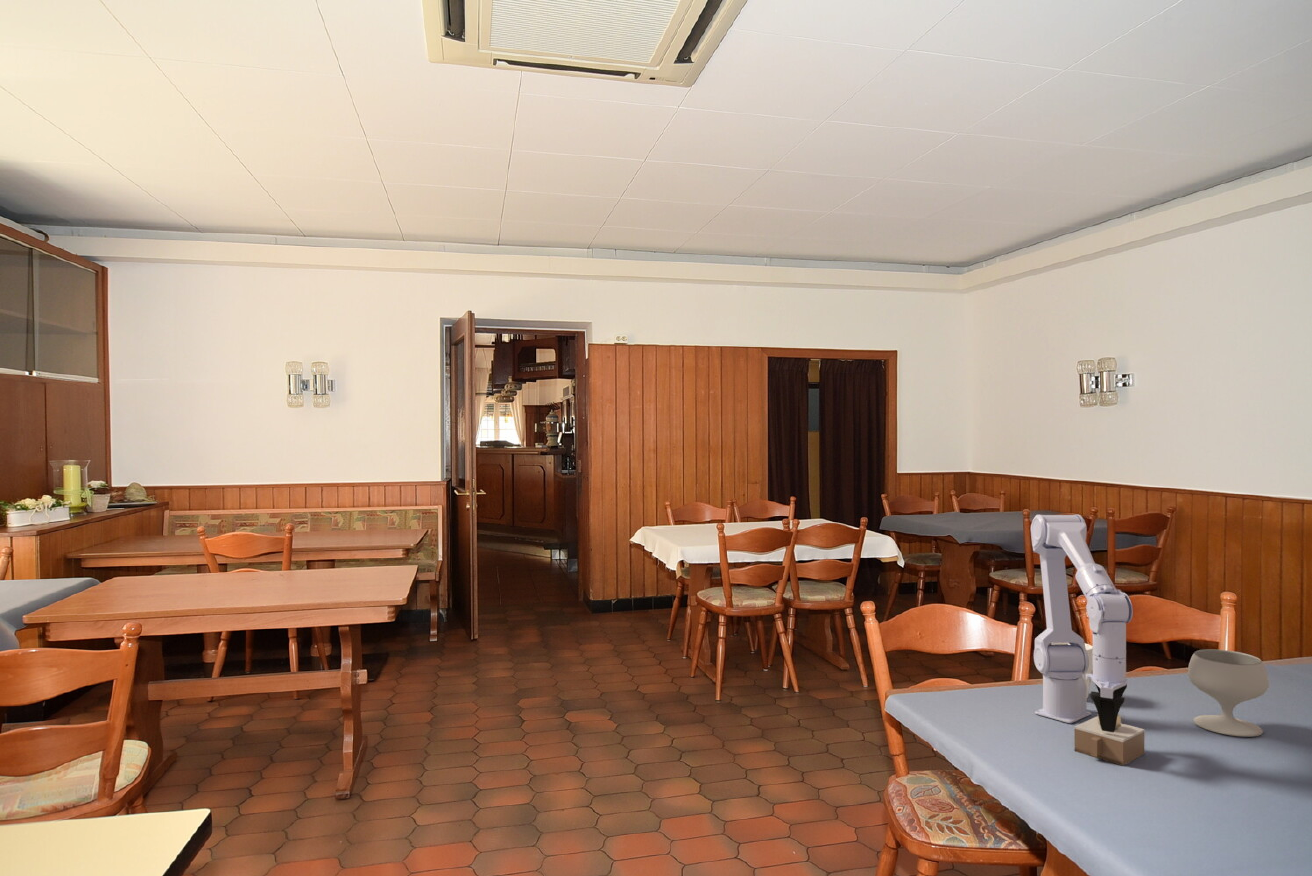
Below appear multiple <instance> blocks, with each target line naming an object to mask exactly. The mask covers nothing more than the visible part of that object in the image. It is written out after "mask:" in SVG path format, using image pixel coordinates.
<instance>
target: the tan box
mask: <svg viewBox="0 0 1312 876" xmlns="http://www.w3.org/2000/svg"><path fill="white" fill-rule="evenodd" d="M1074 751H1075V752H1078V753H1080V754H1083V755H1087V756H1090V757H1094V758H1096V759H1099V760H1103V761H1106V762H1108V763H1113V764H1117V765H1119V766H1125V765H1127V764H1129V763H1131V762H1133V761H1135V760H1136V759H1138V758H1140V757H1141V756H1140V755H1142V756H1144V755H1145V729H1144V728H1140V727H1137V726H1133V725H1129V724H1125V723H1122V722H1121V727H1119V728H1115V731H1114V732H1108V731H1102V729H1101V726H1100V725H1099V724H1098V716H1094V717H1092V718H1091V719H1088V720H1086V721H1083V722H1081V723H1080V724H1077V725H1075V726H1074ZM1139 756H1140V757H1139ZM1137 757H1138V758H1137ZM1128 762H1129V763H1128ZM1126 763H1127V764H1126Z"/></svg>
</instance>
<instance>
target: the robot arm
mask: <svg viewBox="0 0 1312 876" xmlns="http://www.w3.org/2000/svg"><path fill="white" fill-rule="evenodd" d="M1087 530H1088V529H1087V524H1086V520H1085V519H1084V518H1083V516H1082V515H1080V514H1036V515H1035V516H1034V518H1033V519H1032V521H1031V524H1030V536H1031V537H1030V538H1031V546H1032V551H1033V552H1034V553H1036V554H1038V555H1039V561H1040V572H1041V582H1042V590H1043V592H1042V593H1043V601H1044V602H1043V603H1044V610H1045V611H1044V613H1045V623H1046V629H1044V630H1043V631H1042V632H1041V633H1040V634H1038V636H1036V637H1035V638H1034V650H1033V662H1034V665H1035V667H1036V669H1037V671H1038V672H1040V673H1041V674H1042V708H1039V709H1038V710H1035V711H1034V714H1035V715H1037V716H1038V715H1039V716H1041V717H1045V718H1049V719H1052V720H1057V721H1058V722H1059V721H1060V722H1062V723H1063V722H1064V723H1067V724H1072V723H1075V722H1077V721H1079V720H1082V719H1083V718H1086V717H1088V716H1091V715H1092V712H1091V711H1088V708H1087V706H1088V705H1087V703H1088V702H1087V700H1088V698H1087V686H1086V682H1085V680H1084V678H1083V674H1084V673H1086V671H1087V669H1088V667H1089V656H1088V653H1087V651H1086V647H1085V643H1086V642H1085V639H1084V638H1083V637H1082V636H1080V635H1079V634H1078V633H1076V632H1075V631H1074V630H1072V620H1071V612H1070V601H1069V600H1070V599H1069V592H1068V582H1067V572H1066V571H1067V570H1066V562H1065V561H1066V560H1065V559H1066V557H1068V558H1069V560H1070V561H1071V563H1072V564H1073V566H1074V567H1075V569H1076V570H1077V571H1076V573H1075V577H1074V578H1075V580H1076V582H1077V584H1078V586H1079V588H1080V590H1081V591H1082V593H1083V595H1084V597H1085V599H1086V605H1085V609H1086V614H1087V618H1088V622H1089V625H1088V626H1089V630H1091V631H1092V647H1093V668H1092V674H1086V679H1088V680H1091V681H1092V682H1093V683H1094V684H1095V685H1094V686H1095V687H1096V689H1097V691H1090V698H1091V700H1092V702H1093V704H1094V706H1095V708H1096V711H1097V717H1098V716H1099V722H1100V726H1101V729H1102V731H1108V732H1114V731H1115V727H1116V722H1117V716H1118V714H1119V712H1120V709H1121V708H1122V706H1123V704H1124V702H1125V700H1126V697H1123V695H1124V694H1125V693H1124V692H1125V691H1126V689H1127V687H1128V679H1127V624H1129V623H1130V622H1131V621H1132V618H1133V611H1134V610H1133V604H1132V601H1131V599H1130V597H1129V595H1128V594H1127V593H1125V592H1123V591H1122V590H1121V589H1118V588H1117V587H1116V586H1115V585H1114V583H1113V581H1112V579H1111V578H1110V576H1109V574H1108V573H1107V571H1106V569H1105V568H1104V566H1103V565H1101V564H1098V563H1096V562H1095V561H1094V558H1093V556H1092V553H1091V551H1090V549H1089V546H1088V543H1087V541H1086V540H1087V532H1088V531H1087ZM1052 643H1070V644H1071V645H1052Z"/></svg>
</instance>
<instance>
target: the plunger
mask: <svg viewBox="0 0 1312 876" xmlns="http://www.w3.org/2000/svg"><path fill="white" fill-rule="evenodd" d="M1097 717H1098V724H1099V725H1100V722H1099V716H1098V715H1097ZM1121 723H1122V716H1121V715H1120V714H1119V713H1118V716H1117V722H1116V727H1115V728H1119V727H1121Z"/></svg>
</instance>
